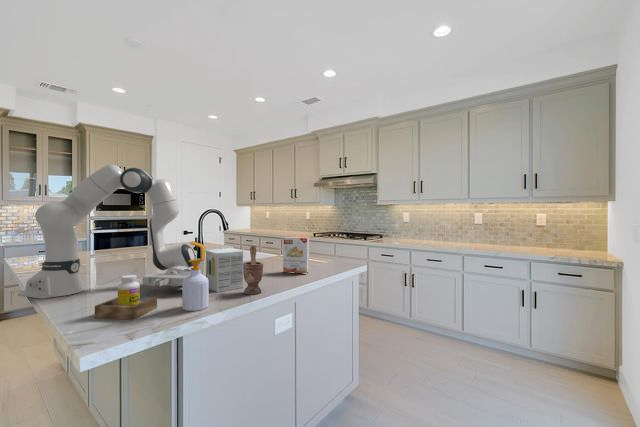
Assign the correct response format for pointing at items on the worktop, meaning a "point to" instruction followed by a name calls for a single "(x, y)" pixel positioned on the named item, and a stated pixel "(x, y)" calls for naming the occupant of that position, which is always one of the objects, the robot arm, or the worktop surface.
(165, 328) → the worktop surface
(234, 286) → the supplement box
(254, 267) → the mortar and pestle
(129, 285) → the supplement bottle
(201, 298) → the soap bottle
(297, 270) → the cracker box
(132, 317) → the corral
